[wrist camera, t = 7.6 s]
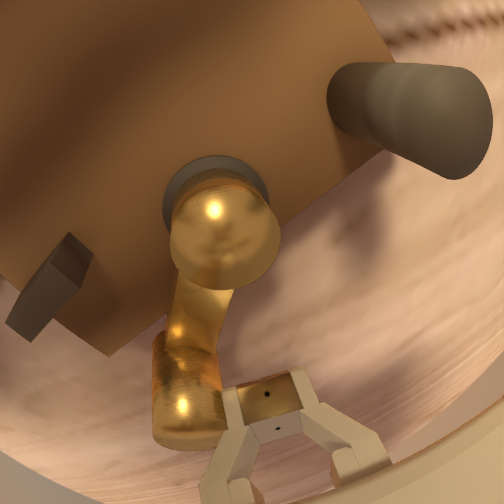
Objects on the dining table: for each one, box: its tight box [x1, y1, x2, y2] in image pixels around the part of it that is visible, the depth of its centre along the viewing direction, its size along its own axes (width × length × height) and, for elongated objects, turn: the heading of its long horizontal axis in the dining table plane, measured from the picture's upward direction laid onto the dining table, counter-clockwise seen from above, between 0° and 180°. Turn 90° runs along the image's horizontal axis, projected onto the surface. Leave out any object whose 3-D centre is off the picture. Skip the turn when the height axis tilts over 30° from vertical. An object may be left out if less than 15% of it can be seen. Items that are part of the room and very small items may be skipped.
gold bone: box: [152, 168, 281, 451], centre depth 9 cm, size 9×3×4 cm, turn 164°
